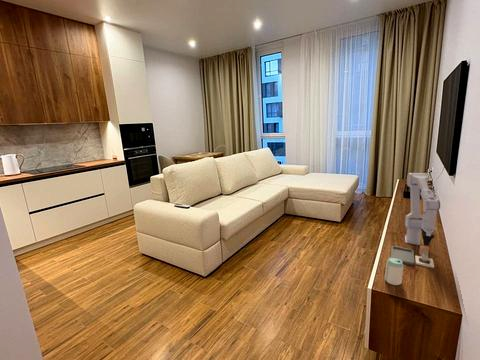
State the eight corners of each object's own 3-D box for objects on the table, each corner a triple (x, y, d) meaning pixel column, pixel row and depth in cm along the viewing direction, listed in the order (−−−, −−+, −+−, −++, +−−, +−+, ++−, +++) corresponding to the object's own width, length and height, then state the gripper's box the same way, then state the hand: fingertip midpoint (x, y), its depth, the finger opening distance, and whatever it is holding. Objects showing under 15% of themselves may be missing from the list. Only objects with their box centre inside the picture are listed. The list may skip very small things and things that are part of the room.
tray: (391, 247, 156) (391, 245, 156) (412, 251, 151) (413, 249, 150) (390, 260, 144) (391, 258, 143) (414, 265, 138) (414, 263, 138)
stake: (421, 260, 142) (422, 250, 141) (426, 261, 141) (428, 252, 140) (421, 263, 139) (423, 254, 138) (427, 264, 138) (428, 255, 137)
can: (395, 276, 130) (398, 255, 127) (404, 285, 123) (407, 263, 120) (381, 277, 130) (384, 256, 127) (390, 286, 123) (392, 264, 120)
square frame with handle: (414, 253, 149) (416, 244, 147) (431, 257, 145) (433, 247, 143) (415, 264, 139) (417, 254, 138) (434, 268, 135) (435, 258, 133)
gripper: (439, 226, 132) (435, 249, 136) (436, 216, 144) (432, 238, 148) (423, 224, 136) (419, 246, 139) (421, 214, 148) (418, 235, 151)
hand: (425, 242), depth 144 cm, fingers open, 7 cm apart
